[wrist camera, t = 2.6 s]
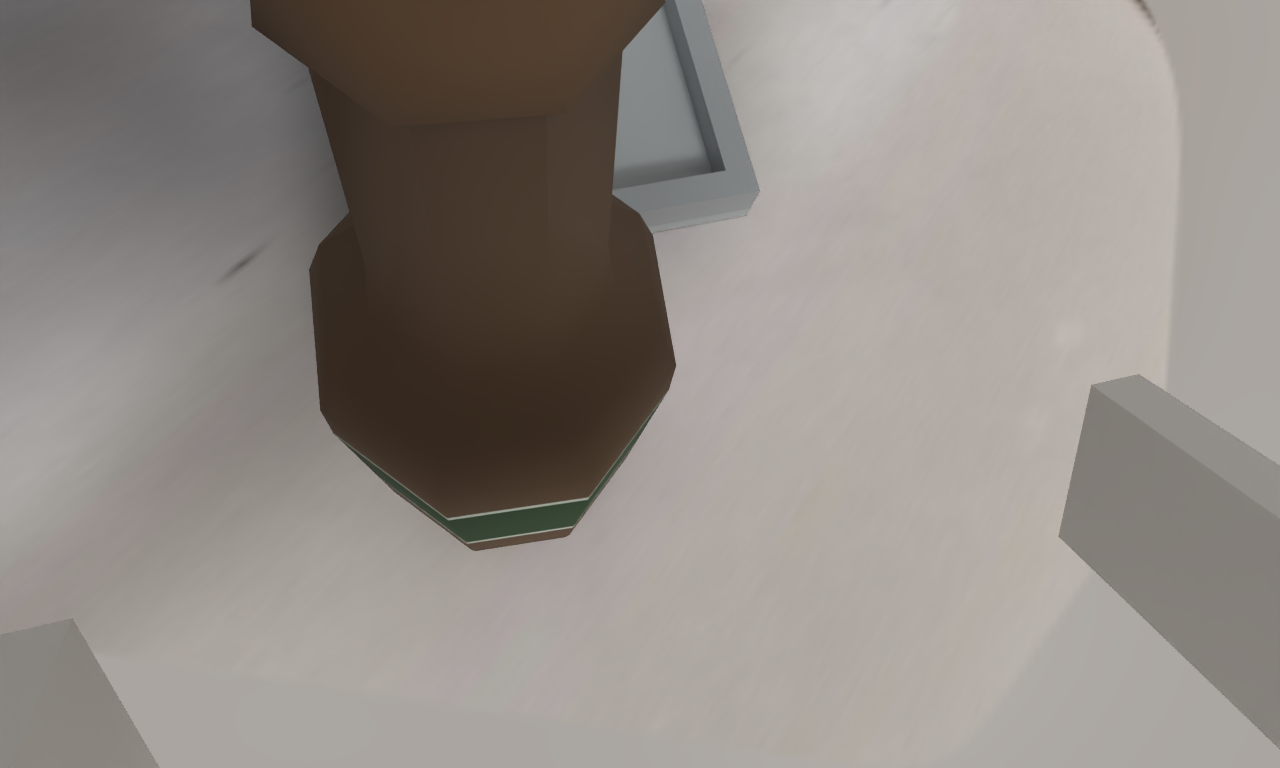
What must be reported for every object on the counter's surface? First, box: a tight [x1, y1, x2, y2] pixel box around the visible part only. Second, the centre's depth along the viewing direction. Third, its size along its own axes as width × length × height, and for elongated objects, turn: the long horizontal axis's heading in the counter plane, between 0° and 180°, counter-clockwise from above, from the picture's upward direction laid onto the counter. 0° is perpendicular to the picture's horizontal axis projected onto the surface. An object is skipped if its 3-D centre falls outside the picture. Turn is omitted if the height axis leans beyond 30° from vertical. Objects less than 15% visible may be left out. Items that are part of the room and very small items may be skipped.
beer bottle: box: [250, 0, 676, 551], centre depth 18 cm, size 8×8×24 cm
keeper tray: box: [612, 0, 760, 233], centre depth 32 cm, size 13×13×2 cm
